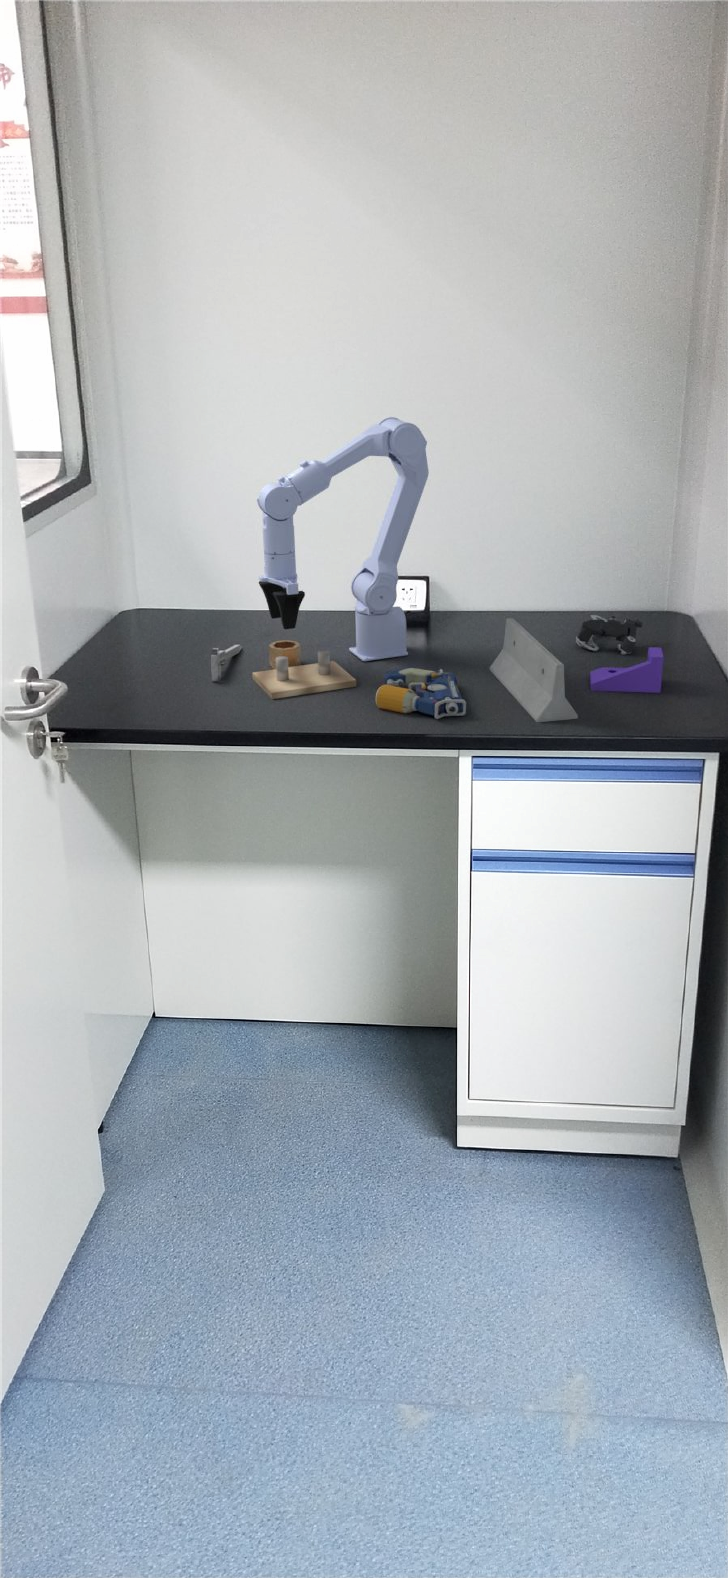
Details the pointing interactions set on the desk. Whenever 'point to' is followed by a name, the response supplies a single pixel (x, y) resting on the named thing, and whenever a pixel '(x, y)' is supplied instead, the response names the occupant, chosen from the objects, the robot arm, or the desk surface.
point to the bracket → (631, 676)
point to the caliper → (221, 659)
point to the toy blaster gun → (421, 692)
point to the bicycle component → (609, 633)
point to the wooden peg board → (303, 677)
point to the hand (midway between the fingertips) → (283, 622)
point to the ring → (285, 652)
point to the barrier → (532, 675)
